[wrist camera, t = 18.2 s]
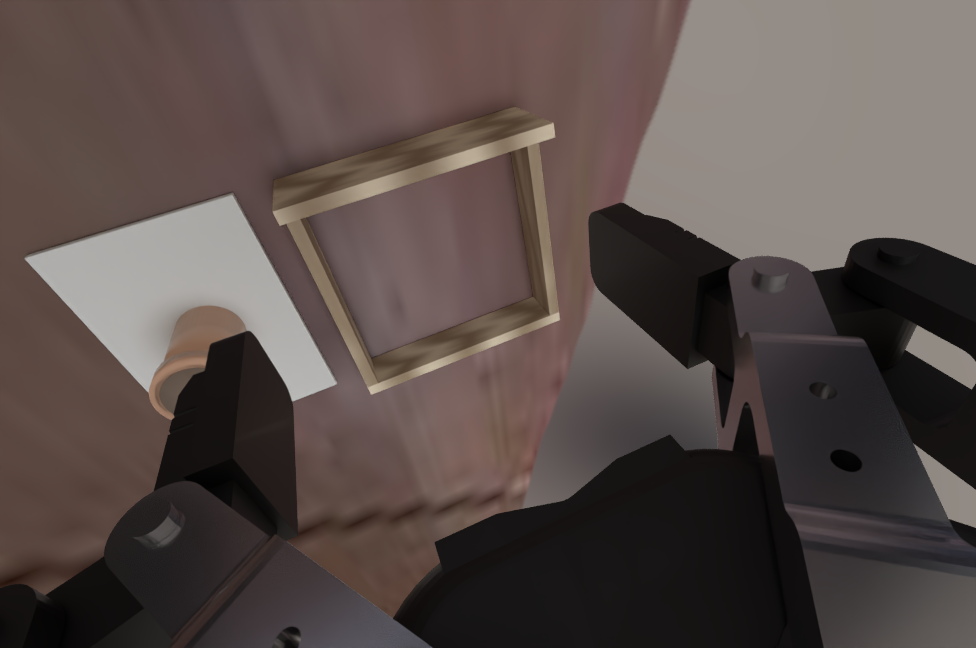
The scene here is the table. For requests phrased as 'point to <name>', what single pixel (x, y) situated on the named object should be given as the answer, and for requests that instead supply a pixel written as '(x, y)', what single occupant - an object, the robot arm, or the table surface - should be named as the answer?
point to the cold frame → (411, 165)
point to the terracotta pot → (190, 352)
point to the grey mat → (182, 289)
